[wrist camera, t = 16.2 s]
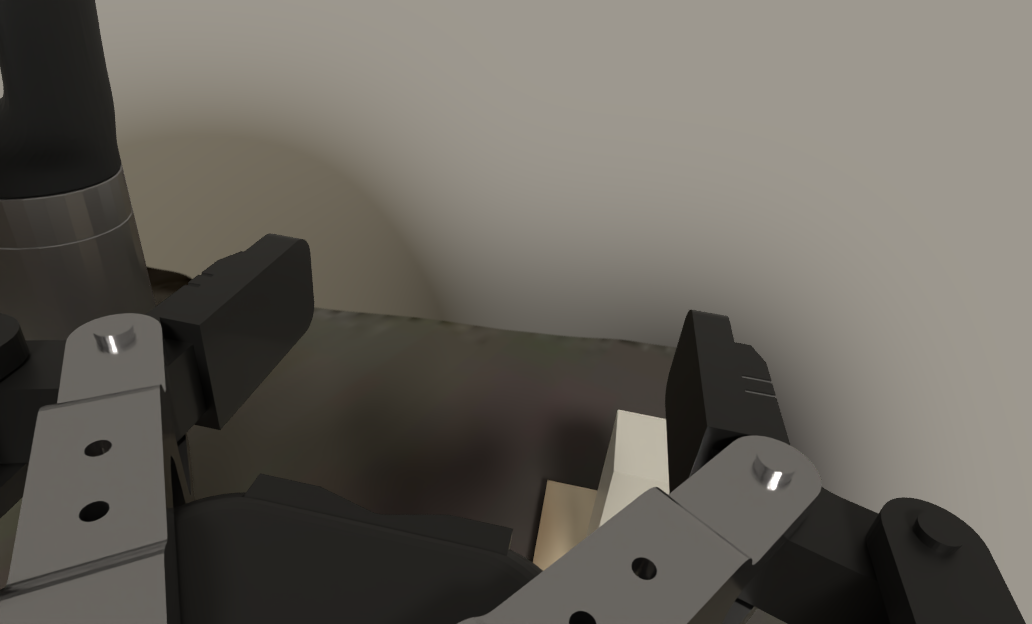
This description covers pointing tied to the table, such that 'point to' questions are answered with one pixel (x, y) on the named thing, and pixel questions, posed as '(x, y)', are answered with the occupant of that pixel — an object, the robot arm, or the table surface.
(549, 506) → the pin dock
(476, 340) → the table surface
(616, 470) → the block
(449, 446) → the table surface
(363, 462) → the table surface
